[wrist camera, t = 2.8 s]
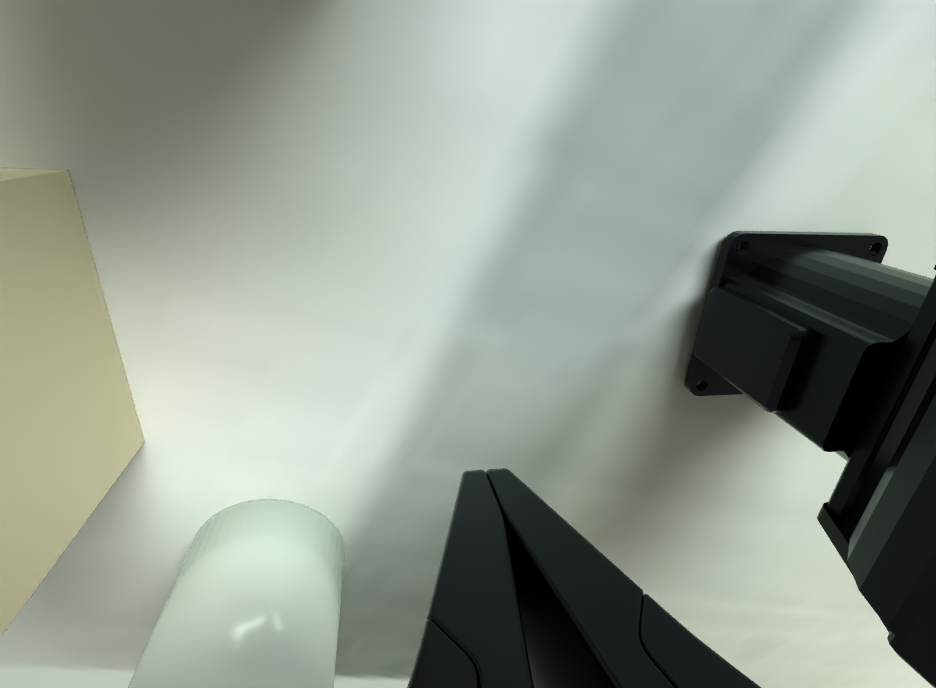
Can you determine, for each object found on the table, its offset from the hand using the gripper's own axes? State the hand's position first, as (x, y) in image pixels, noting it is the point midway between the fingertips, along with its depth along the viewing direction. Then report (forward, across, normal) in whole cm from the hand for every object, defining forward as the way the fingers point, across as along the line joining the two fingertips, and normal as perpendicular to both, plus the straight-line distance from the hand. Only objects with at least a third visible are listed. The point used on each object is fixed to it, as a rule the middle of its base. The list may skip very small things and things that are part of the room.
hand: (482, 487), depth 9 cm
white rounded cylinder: (+9, +7, +10) cm, 15 cm away
